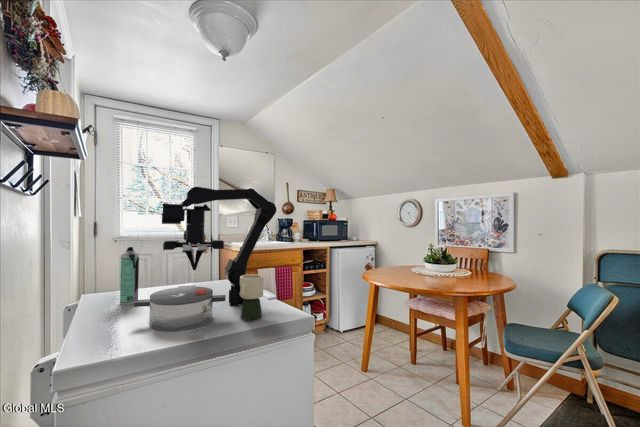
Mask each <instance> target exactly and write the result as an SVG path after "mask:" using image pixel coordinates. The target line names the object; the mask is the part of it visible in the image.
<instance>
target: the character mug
mask: <svg viewBox="0 0 640 427" xmlns="http://www.w3.org/2000/svg"><path fill="white" fill-rule="evenodd" d="M240 288H241V290H240V296H241V297H242V298H244V301H243V304H242V305H241V312H240V319H242V320H248V321H249V320H257V319H260V318H262V315H263V314H262V306H261V305H262V304H261V300H260V298H262V297H263V296H264V275H262V274H255V273H251V274H250V273H249V274H245V275H242V276H240Z"/></svg>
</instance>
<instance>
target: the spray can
mask: <svg viewBox="0 0 640 427" xmlns="http://www.w3.org/2000/svg"><path fill="white" fill-rule="evenodd" d="M139 267H140V255H139V253H138V252H137V251H135V249H134V247H133V246H128V247H127V248H126V250H125V252H123V253H121V256H120V279H119V280H120V283H119V284H120V288H119V290H120V291H119V305H121V306H130V305H134V303H135V302H136V301H137V300H139V273H140V270H139V269H140V268H139Z"/></svg>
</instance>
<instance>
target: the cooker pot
mask: <svg viewBox="0 0 640 427" xmlns="http://www.w3.org/2000/svg"><path fill="white" fill-rule="evenodd" d="M226 298H227V297H226V294H219V295H213V296H212V297H211V298H209V299H207V300H204V301H200V302H196V303H191V304H183V305H158V304H154V303H151V302H150V298H148V299H138V300H137V301H136V302H135V303H134V304H133V305H134V306H133V307H134V308H139V307H140V308H141V307H149V318H148V319H149V323H148V324H149V325H148V326H149V328H150V329H152V330H153V331H158V332H159V331H160V332H180V331H187V330H192V329H196V328H199V327H202V326H204V325H206V324H207V325H208V324H209V323H210V322H211V321H212V319H213V303H217V302H218V303H219V302H226Z"/></svg>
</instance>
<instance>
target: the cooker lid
mask: <svg viewBox="0 0 640 427" xmlns="http://www.w3.org/2000/svg"><path fill="white" fill-rule="evenodd" d="M213 292H214V291H213V289H212V288H210V287H205V286H196V285H195V284H193V285H191V284H190V285H178V287H171V288H165V289H161V290H157V291H155V292H153V293H151V294H150V295H149V299H150V302H151V303H154V304H158V305H183V304H191V303H196V302H200V301H204V300H207V299H209V298H211V297H212V296H214V295H213Z"/></svg>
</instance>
